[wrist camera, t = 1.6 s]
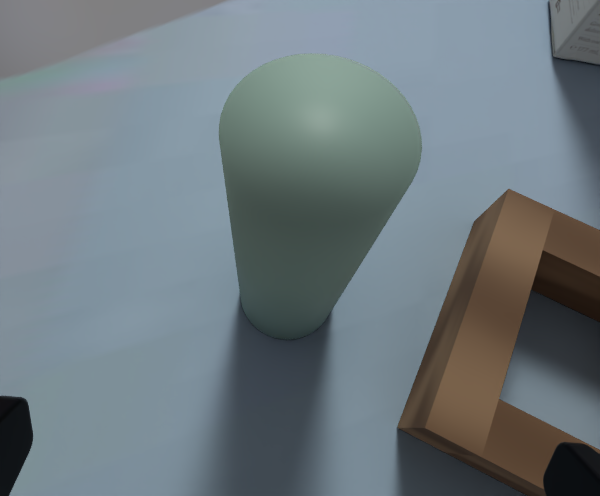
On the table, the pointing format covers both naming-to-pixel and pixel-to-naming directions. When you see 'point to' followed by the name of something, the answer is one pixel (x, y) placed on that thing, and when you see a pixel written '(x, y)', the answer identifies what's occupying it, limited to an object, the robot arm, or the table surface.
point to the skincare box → (576, 30)
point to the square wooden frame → (500, 338)
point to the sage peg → (311, 182)
